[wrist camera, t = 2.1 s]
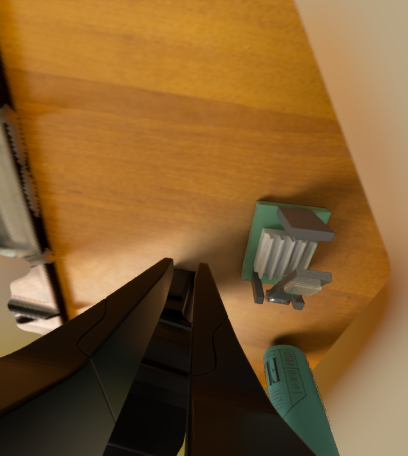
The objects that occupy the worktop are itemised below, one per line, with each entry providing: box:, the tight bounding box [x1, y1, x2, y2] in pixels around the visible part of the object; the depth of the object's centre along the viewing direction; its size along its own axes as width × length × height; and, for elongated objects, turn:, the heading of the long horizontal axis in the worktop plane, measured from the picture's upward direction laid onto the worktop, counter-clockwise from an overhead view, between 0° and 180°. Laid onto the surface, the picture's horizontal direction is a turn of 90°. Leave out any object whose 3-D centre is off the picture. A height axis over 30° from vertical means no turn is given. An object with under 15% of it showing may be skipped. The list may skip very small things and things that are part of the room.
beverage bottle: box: [263, 345, 340, 456], centre depth 21 cm, size 6×7×20 cm
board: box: [241, 201, 335, 310], centre depth 19 cm, size 10×7×6 cm
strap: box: [265, 268, 332, 305], centre depth 16 cm, size 8×2×1 cm
